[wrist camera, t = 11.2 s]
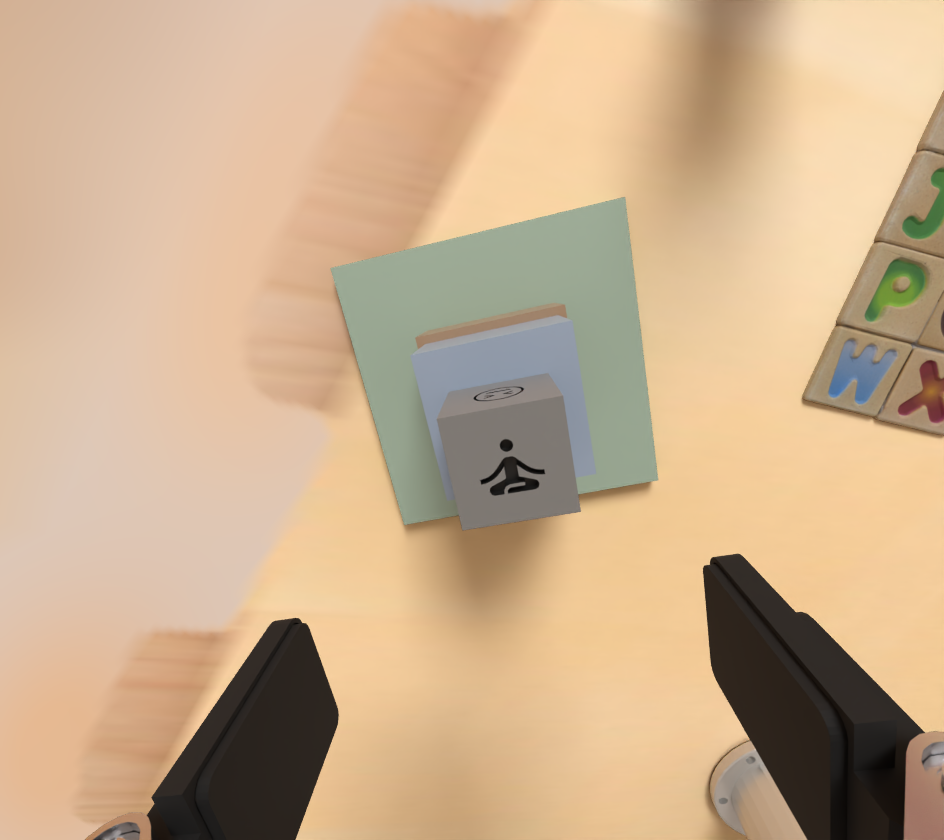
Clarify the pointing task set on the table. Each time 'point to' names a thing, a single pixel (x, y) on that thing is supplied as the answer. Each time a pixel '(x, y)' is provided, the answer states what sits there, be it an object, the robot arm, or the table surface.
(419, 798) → the table surface
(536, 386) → the dice cube
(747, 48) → the table surface
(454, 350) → the stepped block pyramid
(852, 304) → the alphabet tiles
